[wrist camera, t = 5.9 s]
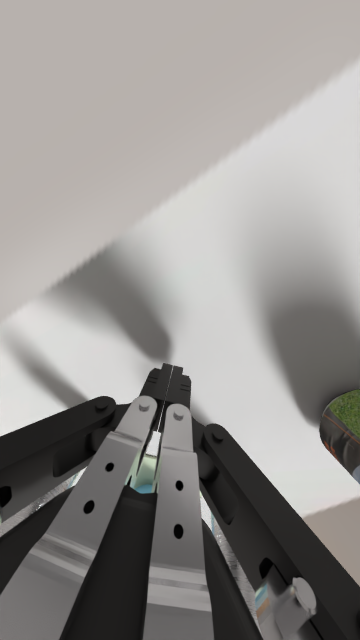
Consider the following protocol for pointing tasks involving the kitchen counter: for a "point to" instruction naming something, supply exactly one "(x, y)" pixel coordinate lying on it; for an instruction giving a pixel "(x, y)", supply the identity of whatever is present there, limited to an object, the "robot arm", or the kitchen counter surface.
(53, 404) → the kitchen counter surface
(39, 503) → the post
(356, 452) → the beverage can
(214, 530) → the post
